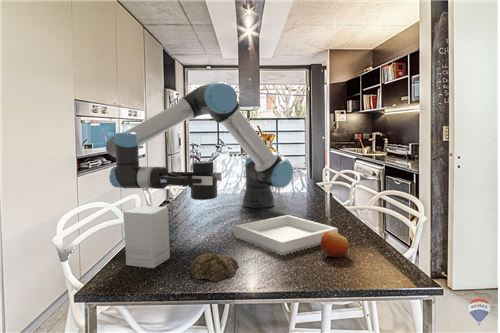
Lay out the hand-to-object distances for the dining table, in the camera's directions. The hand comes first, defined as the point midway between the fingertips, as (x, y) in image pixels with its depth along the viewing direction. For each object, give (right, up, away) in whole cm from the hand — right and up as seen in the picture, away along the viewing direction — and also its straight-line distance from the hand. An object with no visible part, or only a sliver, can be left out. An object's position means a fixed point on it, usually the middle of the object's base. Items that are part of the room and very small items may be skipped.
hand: (216, 178), depth 126 cm
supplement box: (-17, -23, -19) cm, 34 cm away
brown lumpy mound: (+2, -24, -27) cm, 36 cm away
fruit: (+35, -22, -16) cm, 44 cm away
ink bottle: (-4, -7, +2) cm, 8 cm away
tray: (+23, -20, +1) cm, 30 cm away
